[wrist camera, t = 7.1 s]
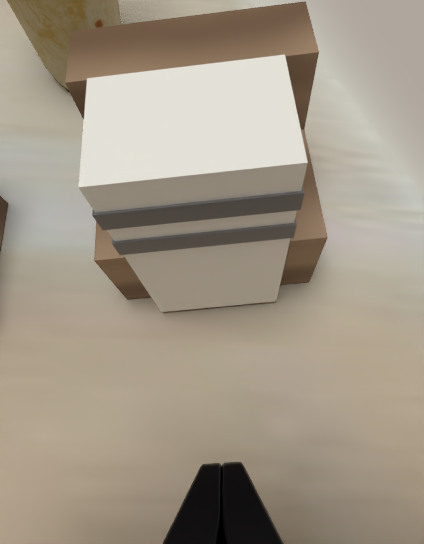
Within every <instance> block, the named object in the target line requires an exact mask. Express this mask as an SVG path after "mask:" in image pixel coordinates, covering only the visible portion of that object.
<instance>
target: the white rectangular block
mask: <svg viewBox="0 0 424 544" xmlns="http://www.w3.org/2000/svg"><path fill="white" fill-rule="evenodd" d="M307 164H308V161H307V157H306V152H305V147H304V142H303V138H302V133H301V128H300V123H299V119H298V114H297V109H296V105H295V100H294V95H293V90H292V86H291V81H290V76H289V71H288V67H287V62H286V57H285V55H277V56H269V57H260V58H252V59H244V60H235V61H227V62H219V63H210V64H202V65H194V66H186V67H177V68H169V69H161V70H152V71H144V72H136V73H127V74H119V75H111V76H102V77H94V78H87V85H86V98H85V111H84V124H83V137H82V150H81V163H80V175H79V189H80V190H81V192H82V193H83V195H84V196H85V198H86V199H87V201H88V202H89V204H90V205H91V207H92V208H93V217H94V218H95V220H96V221H97V223H98V224H99V226H100V227H101V229H102V230H107V231H108V233H109V234H110V236H111V237H112V245H113V246H114V248H115V249H116V251H117V252H118V253H119V255H124V257H125V258H126V260H127V261H128V263H129V264H130V266H131V267H132V269H133V270H134V272H135V273H136V275H137V276H138V278H139V280H140V281H141V283H142V284H143V286H144V287H145V289H146V290H147V292H148V293H149V295H150V296H151V298H152V299H153V301H154V302H155V304H156V305H157V307H158V308H159V310H160V311H161V312H168V311H179V310H189V309H200V308H211V307H222V306H232V305H243V304H254V303H264V302H275V301H276V300H277V296H278V292H279V287H280V283H281V278H282V274H283V270H284V265H285V261H286V256H287V252H288V247H289V243H290V239H291V238H294V235H295V231H296V226H297V223H296V212H297V210H301V206H302V202H303V197H304V188H303V181H304V177H305V172H306V168H307Z"/></svg>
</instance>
